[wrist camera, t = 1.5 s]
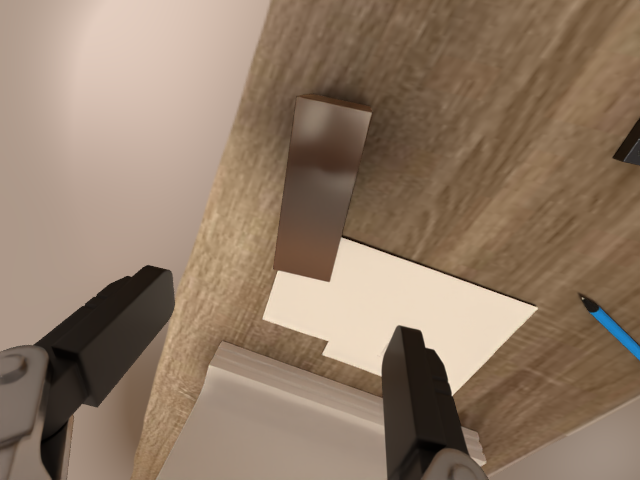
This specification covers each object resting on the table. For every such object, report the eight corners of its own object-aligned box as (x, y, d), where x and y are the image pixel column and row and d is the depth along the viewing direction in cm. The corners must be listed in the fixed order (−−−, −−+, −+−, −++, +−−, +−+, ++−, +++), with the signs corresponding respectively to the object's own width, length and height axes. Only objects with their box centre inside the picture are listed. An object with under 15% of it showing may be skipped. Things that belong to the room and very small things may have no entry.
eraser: (312, 93, 22) (296, 95, 17) (370, 106, 22) (373, 112, 16) (289, 234, 28) (272, 269, 22) (336, 245, 27) (329, 282, 22)
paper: (545, 297, 27) (552, 305, 26) (454, 400, 36) (456, 409, 35) (287, 217, 27) (284, 222, 26) (257, 340, 35) (254, 347, 34)
